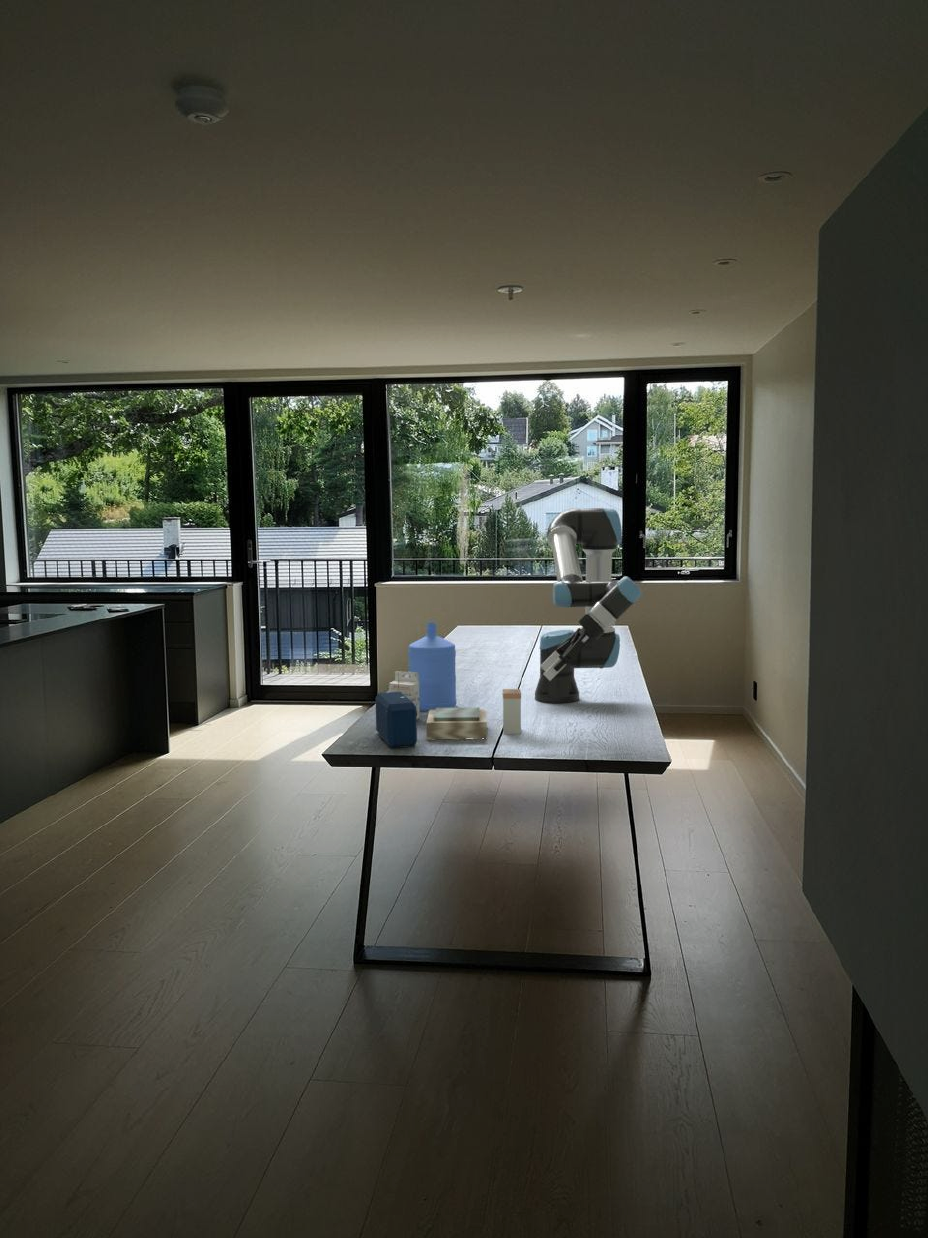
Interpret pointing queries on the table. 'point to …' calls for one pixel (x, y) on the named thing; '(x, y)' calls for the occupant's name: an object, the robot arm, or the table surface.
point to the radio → (396, 719)
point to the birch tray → (456, 723)
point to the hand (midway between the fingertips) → (544, 673)
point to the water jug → (434, 670)
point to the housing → (512, 711)
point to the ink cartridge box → (407, 687)
